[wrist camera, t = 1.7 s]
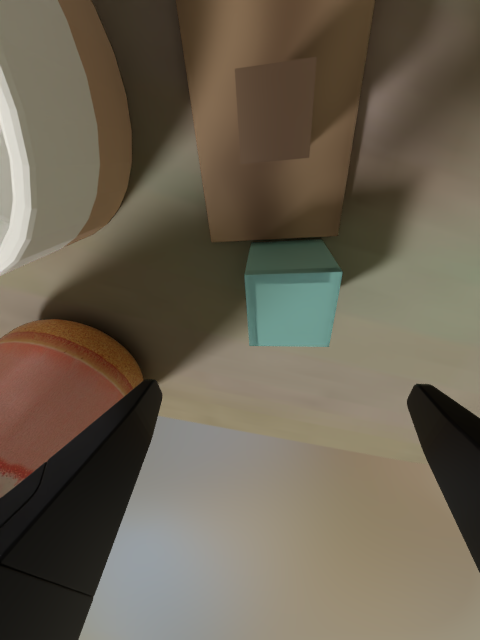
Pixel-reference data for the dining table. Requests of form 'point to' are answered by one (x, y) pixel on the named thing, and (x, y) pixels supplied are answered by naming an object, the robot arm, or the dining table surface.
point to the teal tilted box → (291, 293)
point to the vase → (55, 390)
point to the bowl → (58, 128)
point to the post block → (274, 110)
